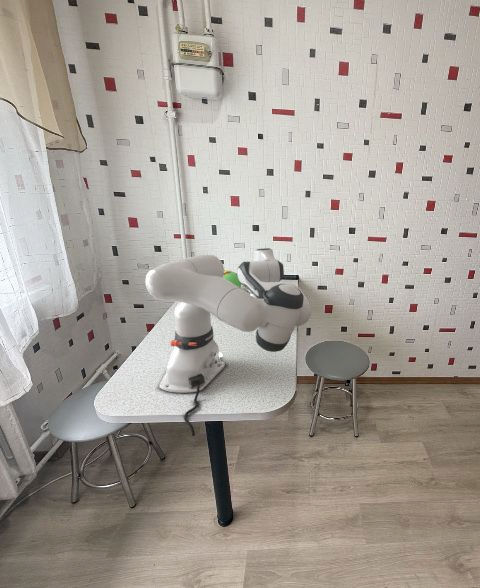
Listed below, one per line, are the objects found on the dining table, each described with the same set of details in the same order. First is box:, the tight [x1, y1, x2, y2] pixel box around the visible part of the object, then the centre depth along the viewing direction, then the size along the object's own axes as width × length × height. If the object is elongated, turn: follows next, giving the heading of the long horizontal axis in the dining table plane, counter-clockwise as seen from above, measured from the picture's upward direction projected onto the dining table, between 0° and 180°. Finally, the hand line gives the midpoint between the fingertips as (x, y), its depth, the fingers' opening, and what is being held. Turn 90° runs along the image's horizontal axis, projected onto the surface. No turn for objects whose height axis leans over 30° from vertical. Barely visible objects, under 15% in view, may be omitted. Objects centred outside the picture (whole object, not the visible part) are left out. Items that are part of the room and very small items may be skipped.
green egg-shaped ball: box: [223, 269, 242, 288], centre depth 174 cm, size 18×17×15 cm
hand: (267, 312), depth 151 cm, fingers closed, pressing on power button, switch block
